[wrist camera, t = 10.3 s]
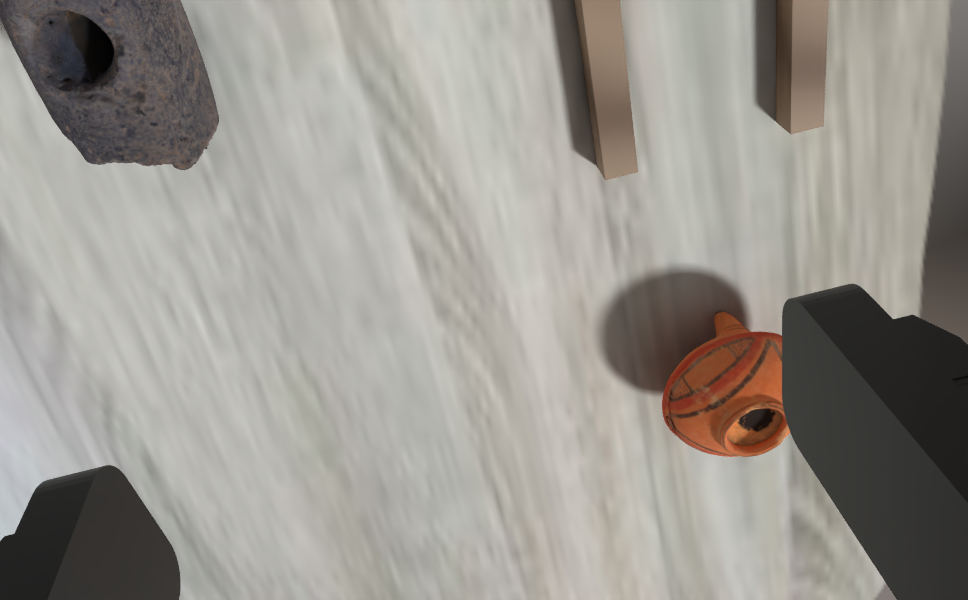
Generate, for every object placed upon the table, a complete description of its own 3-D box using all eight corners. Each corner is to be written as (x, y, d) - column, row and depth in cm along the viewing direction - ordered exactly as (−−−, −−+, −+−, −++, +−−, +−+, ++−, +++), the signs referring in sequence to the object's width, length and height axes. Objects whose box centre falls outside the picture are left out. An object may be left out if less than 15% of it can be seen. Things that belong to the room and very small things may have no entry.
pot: (820, 307, 43) (871, 411, 38) (735, 391, 48) (771, 491, 43) (694, 274, 40) (733, 381, 36) (619, 367, 45) (644, 471, 41)
